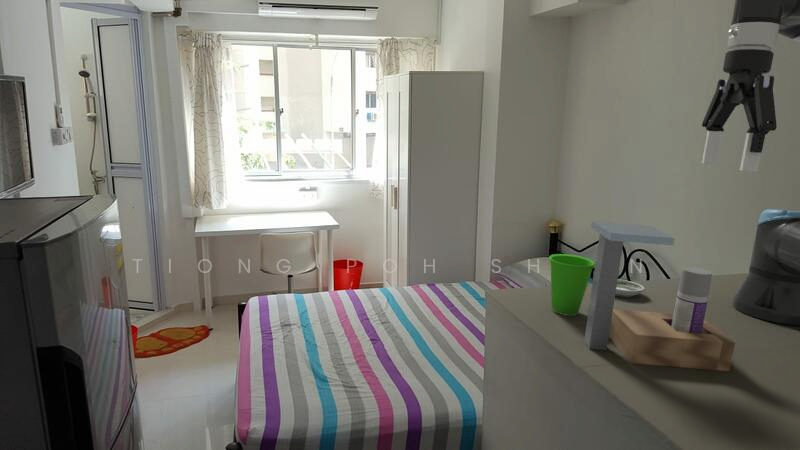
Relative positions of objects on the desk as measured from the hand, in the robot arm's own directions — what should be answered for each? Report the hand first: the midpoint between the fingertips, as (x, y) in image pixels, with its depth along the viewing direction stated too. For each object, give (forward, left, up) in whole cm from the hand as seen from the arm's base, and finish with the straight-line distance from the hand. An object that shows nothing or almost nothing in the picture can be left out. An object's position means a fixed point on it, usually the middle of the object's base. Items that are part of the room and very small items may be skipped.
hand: (727, 167), depth 104 cm
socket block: (+13, +15, -32) cm, 37 cm away
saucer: (+9, -18, -32) cm, 38 cm away
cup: (+26, -2, -32) cm, 41 cm away
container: (+10, +15, -32) cm, 37 cm away
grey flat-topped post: (+22, +15, -32) cm, 41 cm away
